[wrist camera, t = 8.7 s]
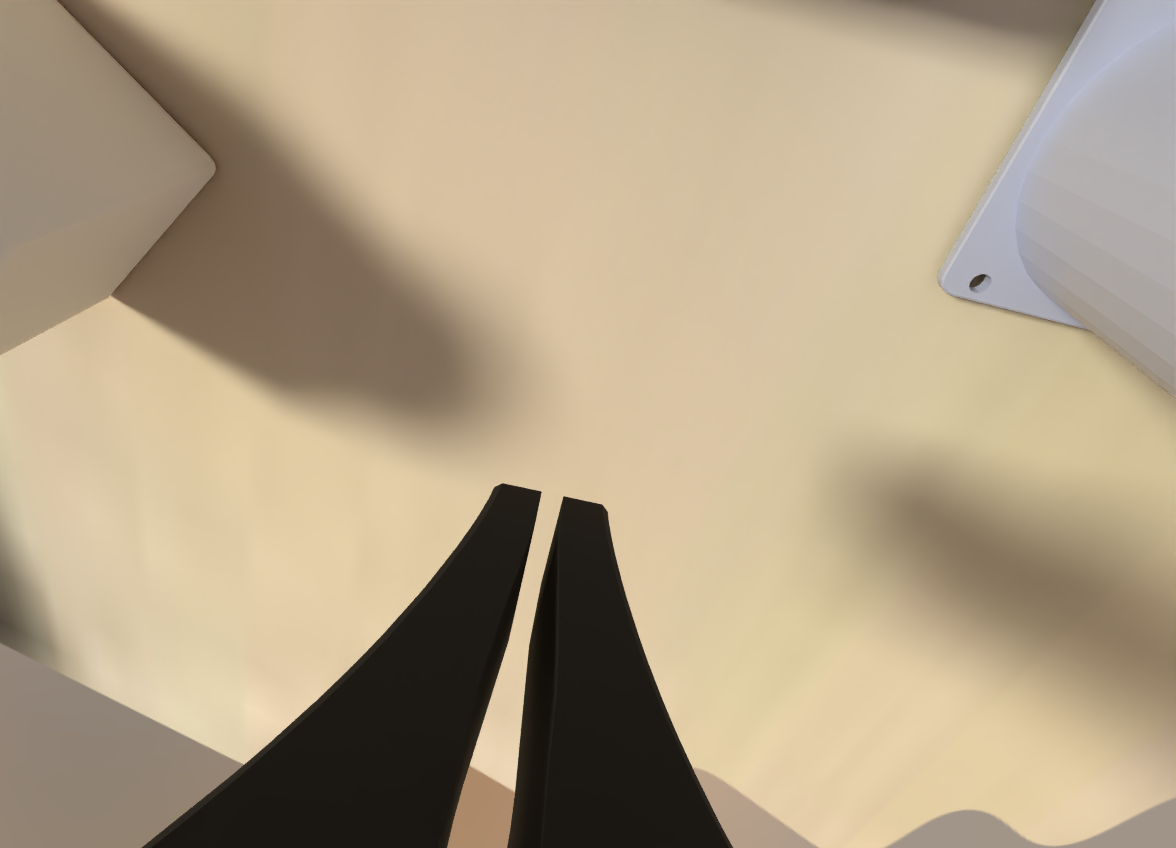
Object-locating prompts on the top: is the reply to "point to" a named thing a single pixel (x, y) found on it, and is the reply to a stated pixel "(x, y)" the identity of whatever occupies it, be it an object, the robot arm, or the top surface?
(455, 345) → the top surface
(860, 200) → the top surface
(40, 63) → the medicine bottle
